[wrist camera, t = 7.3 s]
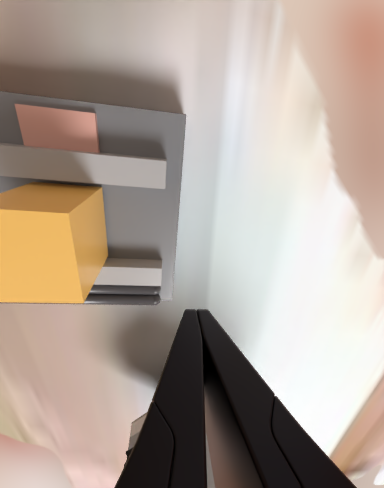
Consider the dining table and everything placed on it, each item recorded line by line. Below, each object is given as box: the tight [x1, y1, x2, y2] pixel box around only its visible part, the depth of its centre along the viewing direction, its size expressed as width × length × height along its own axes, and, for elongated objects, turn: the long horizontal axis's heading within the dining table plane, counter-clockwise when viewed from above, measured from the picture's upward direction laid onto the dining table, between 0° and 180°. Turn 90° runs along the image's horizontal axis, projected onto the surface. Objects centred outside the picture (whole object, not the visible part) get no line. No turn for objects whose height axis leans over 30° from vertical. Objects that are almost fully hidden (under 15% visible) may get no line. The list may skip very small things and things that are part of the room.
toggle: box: [0, 182, 108, 303], centre depth 12 cm, size 4×5×5 cm
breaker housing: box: [0, 91, 186, 305], centre depth 14 cm, size 22×14×3 cm, turn 84°
